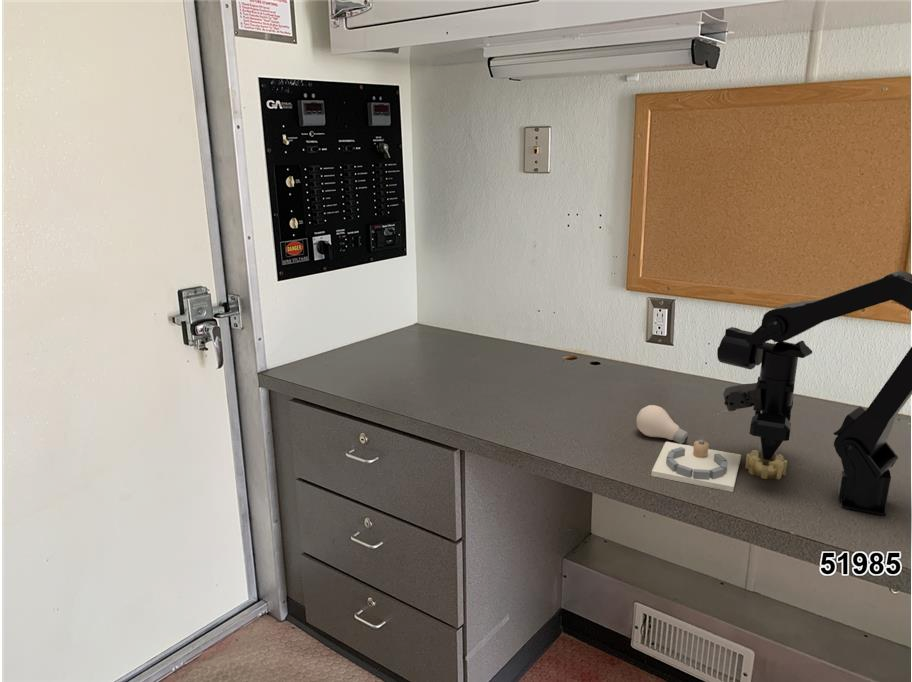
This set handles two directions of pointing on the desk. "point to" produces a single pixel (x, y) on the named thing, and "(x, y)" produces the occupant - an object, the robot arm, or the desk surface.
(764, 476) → the planet gear
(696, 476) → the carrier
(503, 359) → the desk surface
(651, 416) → the light bulb
